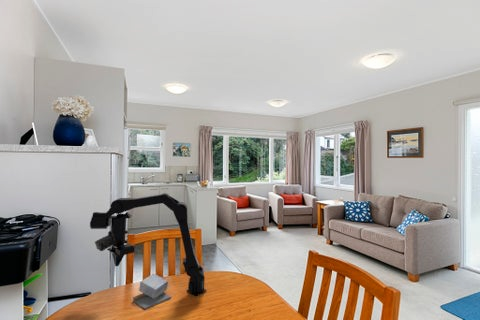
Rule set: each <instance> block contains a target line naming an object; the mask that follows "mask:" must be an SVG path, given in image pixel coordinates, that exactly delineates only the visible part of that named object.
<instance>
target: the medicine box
mask: <svg viewBox="0 0 480 320" xmlns="http://www.w3.org/2000/svg"><path fill="white" fill-rule="evenodd" d="M168 285H169V281H168V280H166V279H165V278H163V277H161V276H159V275H157V274H155V273H152V274H149V276H147V277H146V278H144V279H142V280H140V282H139V288H138V291H139V292H140V293H141V294H143V293H144V294H146V295H148V296H149V297H151V298H153V299H155V298H156V297H158V296H159V295H161V294H162V293H163V292H164V293H166V291H167V290H168Z"/></svg>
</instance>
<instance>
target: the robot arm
mask: <svg viewBox="0 0 480 320" xmlns="http://www.w3.org/2000/svg"><path fill="white" fill-rule="evenodd" d="M160 204H163V205H165V207H167V208H168V209H169V210H170V211H172V212H173V215H174V217H175V221H177V224H178V226H179V230H180V235H181V239H182V244H183V249H184V255H185V257H183V258H182V265H183V267H184V273H186V275H187V276H189V278H188V284H187V285H188V288H187V289H186V292H187V293H188V294H190V295H193V296H194V297H197V296H200V295H202V294H203V293H207V289H206V288H205V278H206V277H205V271H204V268H203V267H202V266H201V265H200V263H199V260H198V258H197V255H196V253H195V250H194V247H193V241H192V237H191V232H190V227H189V223H188V221H189V220H188V205H187V204H186V203H185V202H183V201H179V200H177V199H176V198H174V197H172V196H170V195H169V193H167V192H166V193H165V192H163V193H162V194H155V195H149V196H142V197H137V198H135V197H133V198H132V197H120V198H116V199H114V200H113V201H112V202H111V204H110V208H109V209H108V210H107V211H106V212H98V211H94V212H93V213H92V216H91V219H90V222H89V227H90V229H91V230H107V229H108V227H110V230H109V231H108V233H107V235H105V236H104V237H101V238H99V239H97V240H95V241H94V244H95V246H96V249H97V250H98V251H100V252H103V251H105V250H107V251H108V252H109V253H111V255H112V260H113V262H114V266H115V267H119V266H120V264H121V262H122V261H123V258H124V256H125V255H129V254H133V253H136V246H135V245H133V244H131V243H128V240H126V234H128V233H129V232H128V230H127V219H130V218H132V214H130V212H129V211H130V210H133V209H136V208H143V207H148V206H155V205H160ZM124 212H125V213H124ZM114 214H116V215H114Z"/></svg>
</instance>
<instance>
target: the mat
mask: <svg viewBox="0 0 480 320" xmlns="http://www.w3.org/2000/svg"><path fill="white" fill-rule="evenodd" d="M171 299H172V296H171V295H169V294H168V293H166V292H163V293H162V294H161V295H159V296H158V297H156V298H155V299H153V298H151V297H149V296H148V295H146V294H144V293H140V294H138V295H135V296H133V297H132V302H134V303H135V305H138V306H139V307H140V308H142V309H143V310H144V311H145V310H148V309H149V308H152V307H154V306H157V305H158V304H161V303H163V302H166V301H168V300H171Z"/></svg>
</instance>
